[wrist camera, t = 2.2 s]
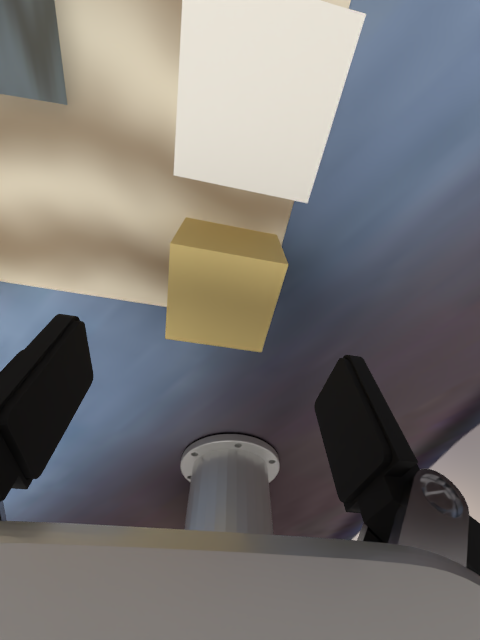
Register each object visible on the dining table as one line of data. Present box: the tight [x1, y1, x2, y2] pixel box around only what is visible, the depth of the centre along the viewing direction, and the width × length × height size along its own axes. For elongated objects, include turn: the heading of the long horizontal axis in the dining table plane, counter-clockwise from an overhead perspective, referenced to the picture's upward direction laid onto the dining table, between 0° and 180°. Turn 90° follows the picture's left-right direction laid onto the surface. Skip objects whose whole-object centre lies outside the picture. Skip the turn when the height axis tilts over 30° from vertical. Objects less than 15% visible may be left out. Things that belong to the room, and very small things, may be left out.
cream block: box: [174, 0, 366, 203], centre depth 13 cm, size 6×6×5 cm
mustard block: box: [165, 217, 288, 352], centre depth 17 cm, size 6×6×5 cm
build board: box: [0, 0, 351, 307], centre depth 14 cm, size 19×20×6 cm
